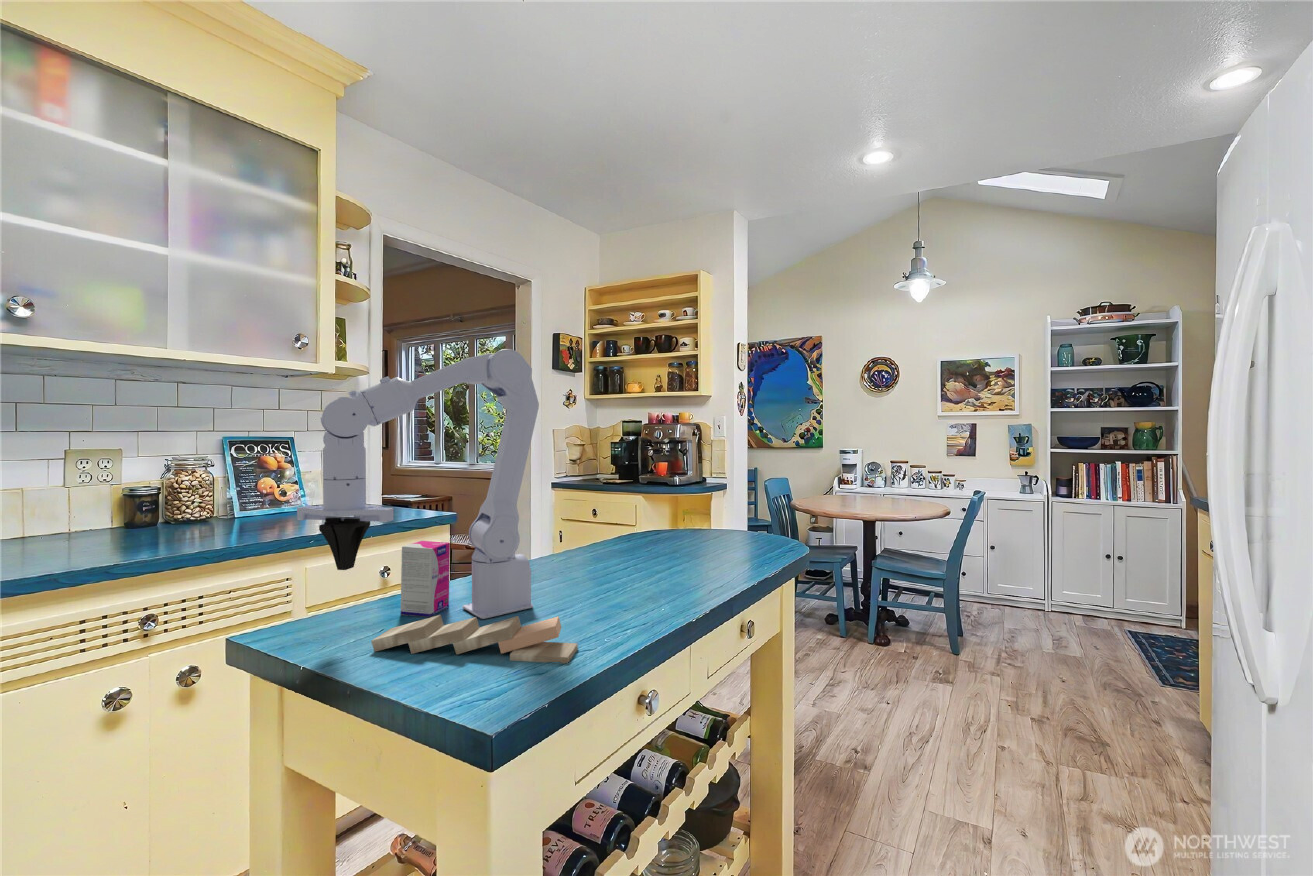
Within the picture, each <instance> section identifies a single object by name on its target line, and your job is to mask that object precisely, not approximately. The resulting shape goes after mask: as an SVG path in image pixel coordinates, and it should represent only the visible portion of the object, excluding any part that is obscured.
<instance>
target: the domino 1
mask: <svg viewBox="0 0 1313 876" xmlns="http://www.w3.org/2000/svg"><path fill="white" fill-rule="evenodd" d="M442 626H444V622H443V618H442V615H441V614H438V615H433V616H431V617H426V618H424V619H421V620H420V619H419V620H417V621H413V622H409V623H406V624H403V625H398V626H395V627H391V628H389V629H388V630H386V631H385V632H383V633H381V634H380V635H378V636H376V637H375V638H374V639H372V640H371V645H372V649H373V651H374V653H376V652H379V651H383V650H386V649H390V648H393V647H397V646H401V645H404V644H408V643H409V642H413V641H416V640H420V639H424V638H427V637H428V636H430V635H431V634H432V633H434V632H435V631H437V630H438V629H439V628H441V627H442Z"/></svg>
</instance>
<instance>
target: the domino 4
mask: <svg viewBox="0 0 1313 876" xmlns="http://www.w3.org/2000/svg"><path fill="white" fill-rule="evenodd" d="M560 620H561V619H560V616H555V617H551V618H548V619H544V620H540V621H538V622H537V621H536V622H534V623H531V624H527V625H526V624H525V625H523V626H522V625H521V627H520V629H519V630H518V631H517V632H516V634H515V635H514V636H513V637H512V638H510V639H507V640H504V641H500V642H497V644H498V647H499V650H500V654H505V653H508V652H509V653H510V652H513V651H514V650H516V649H519V648H523V647H526V646H530V645H533V644H537V643H540V642H548V641H551V640H554V639H557V638H559V637H560V633H561V630H562V624H561V623H562V622H561V621H560Z"/></svg>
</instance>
